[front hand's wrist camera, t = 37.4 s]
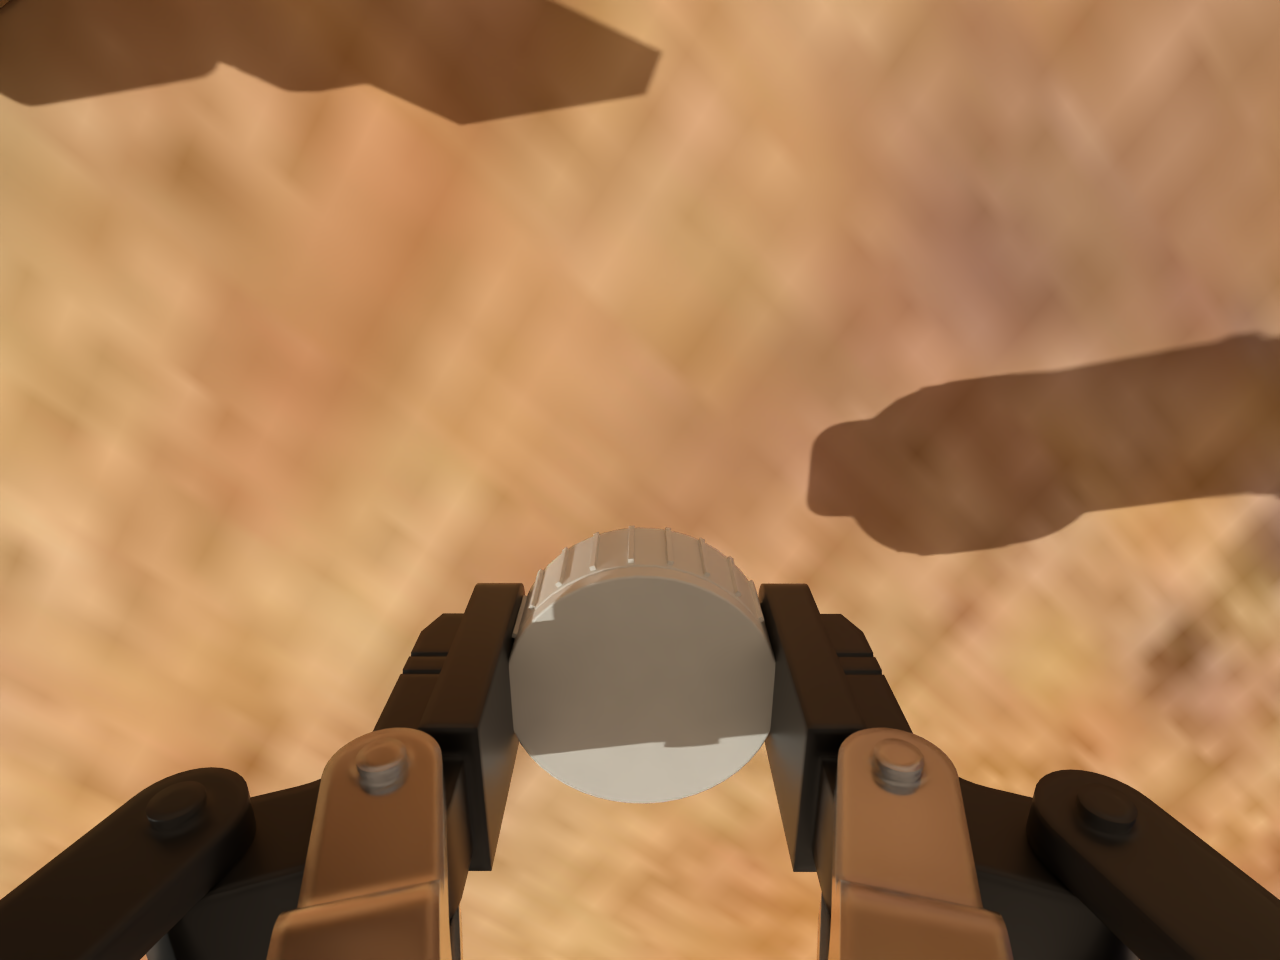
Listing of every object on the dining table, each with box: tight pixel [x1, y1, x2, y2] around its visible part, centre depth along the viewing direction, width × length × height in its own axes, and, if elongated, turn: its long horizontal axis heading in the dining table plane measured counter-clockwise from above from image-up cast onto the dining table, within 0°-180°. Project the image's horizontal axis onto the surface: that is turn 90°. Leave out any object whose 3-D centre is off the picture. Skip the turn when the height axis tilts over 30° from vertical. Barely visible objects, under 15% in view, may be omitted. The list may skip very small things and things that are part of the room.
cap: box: [509, 526, 776, 803], centre depth 12 cm, size 4×4×2 cm
